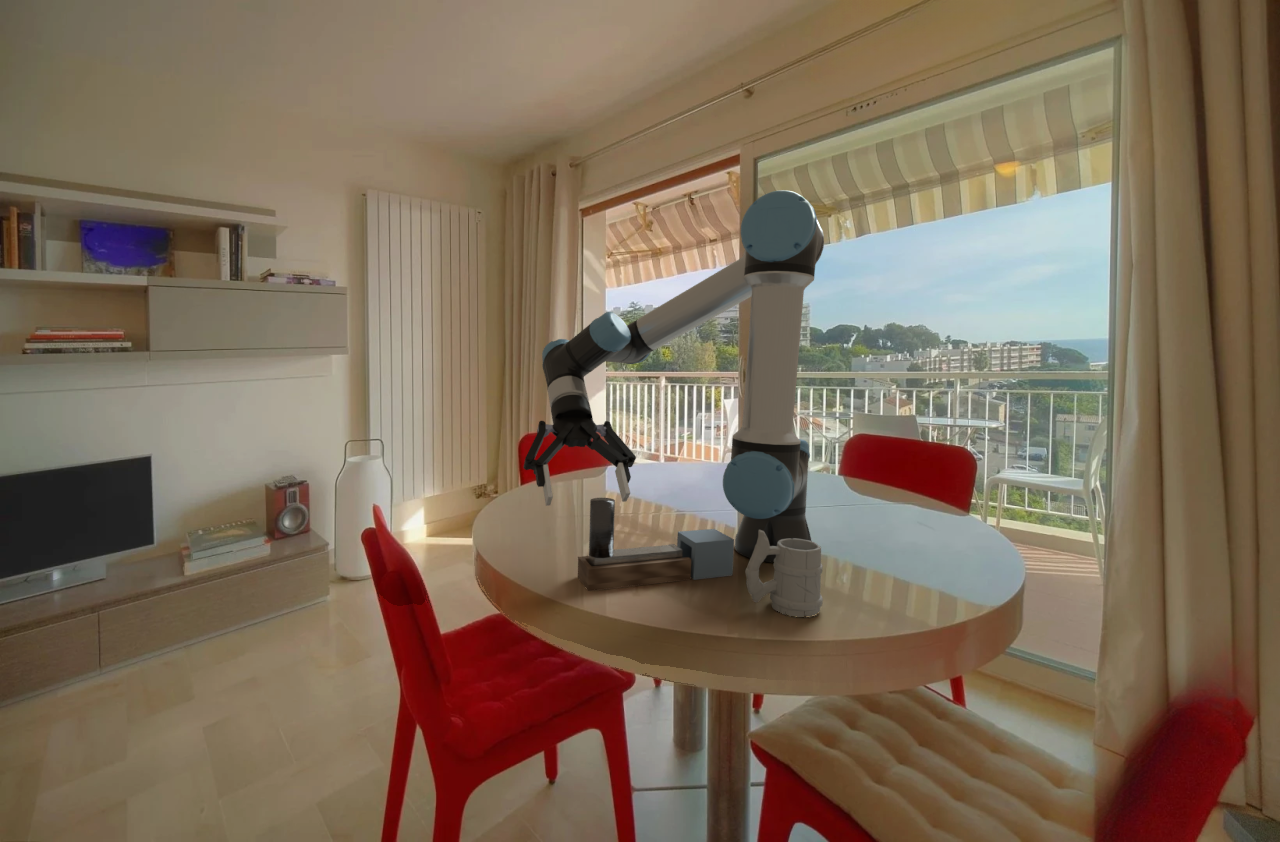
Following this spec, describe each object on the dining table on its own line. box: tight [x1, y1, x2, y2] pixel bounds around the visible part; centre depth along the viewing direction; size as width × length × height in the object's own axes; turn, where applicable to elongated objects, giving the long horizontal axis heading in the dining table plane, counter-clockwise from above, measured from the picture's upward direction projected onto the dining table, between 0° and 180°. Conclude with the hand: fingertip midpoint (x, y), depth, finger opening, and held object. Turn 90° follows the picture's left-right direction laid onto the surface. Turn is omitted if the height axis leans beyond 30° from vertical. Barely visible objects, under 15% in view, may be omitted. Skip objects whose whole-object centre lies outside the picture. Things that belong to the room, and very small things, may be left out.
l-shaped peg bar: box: [588, 497, 683, 566], centre depth 94 cm, size 16×4×12 cm, turn 112°
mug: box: [745, 530, 824, 618], centre depth 83 cm, size 8×12×12 cm, turn 98°
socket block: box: [676, 528, 735, 581], centre depth 99 cm, size 8×7×6 cm
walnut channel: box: [577, 555, 692, 592], centre depth 94 cm, size 18×6×4 cm, turn 112°
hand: (588, 499), depth 95 cm, fingers open, 13 cm apart
